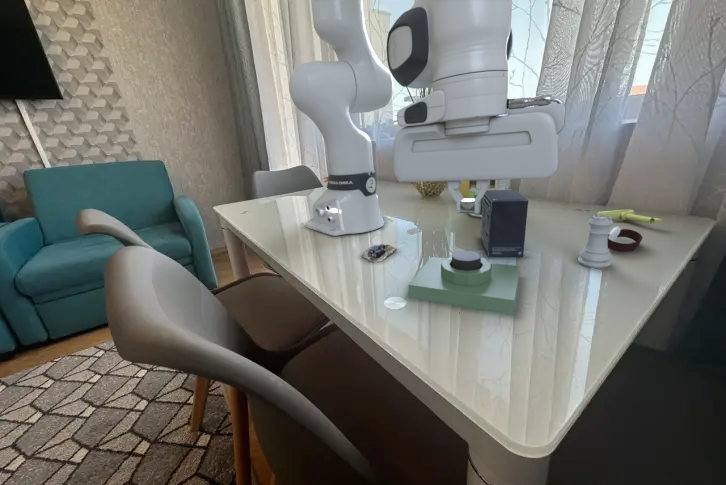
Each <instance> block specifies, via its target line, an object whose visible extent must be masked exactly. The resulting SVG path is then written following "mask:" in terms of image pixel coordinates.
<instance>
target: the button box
mask: <svg viewBox="0 0 726 485" xmlns="http://www.w3.org/2000/svg"><path fill="white" fill-rule="evenodd" d="M520 276H521V266H520V265H511V264H503V263H502V264H501V263H492V262H490V261H489V260H488V259H486V258H484V257H481V263H480V268H479V269H477V270H470V271H464V270H458V269H455V268H452V256H450V257H447V258H445V257H444V258H443V257H433V256H430V257H429V258H428V260H427V261H426V262H425V264H424V265H423V266H422V267H421V268H420V270H419V271H418V272H417V273H416V274H415V276H413V279H412V280H411V281H409V283H408V298H409V299H411V300H412V299H413V300H419V301H425V302H430V303H436V304H443V305H449V306H455V307H461V308H467V309H473V310H479V311H485V312H491V313H496V314H503V315H508V316H515V309H516V304H517V298H518V297H517V296H518V290H519V285H520Z"/></svg>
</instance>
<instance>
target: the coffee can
mask: <svg viewBox="0 0 726 485" xmlns="http://www.w3.org/2000/svg"><path fill="white" fill-rule="evenodd" d="M511 180H512V179H506V180H490V186H489V188H488V189H487V190H511ZM480 190H481V188H480V189H477V188H476V180H468V199H475V198H476V196H477V195H478V193H479V191H480ZM482 204H483V197H482V199H481V209H480V213H479V214H469V216H472V217H475V218H481V219H482V206H483V205H482Z"/></svg>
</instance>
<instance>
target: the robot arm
mask: <svg viewBox="0 0 726 485" xmlns="http://www.w3.org/2000/svg"><path fill="white" fill-rule="evenodd" d="M310 4H311V11H312V12H311V13H312V23H313V28H314V31H315V32H316V35H317V36H318V37H319V38H320V40H322V41H323V42H324V43H326V44H328V46H330V47H331V49H332V51H334V54H335V55H336V57H337V60H313V61H309V62H304V63H300V64H297V65H296V66H295V68H293V70H292V72H291V75H290V79H289V83H288V90H289V95H290V98H291V100H292V103H293V104H294V106H295V107H296V108H297V109H298V110H299V112H301V113H303V114H304V115H305V116H307V117H308V118H309V119H310V120H311V121H312V122H313V124H315V126H316V127H317V129H318V130H319V133H320V134H321V136H322V138H323V141H324V144H325V148H326V154H327V159H328V166H329V175H328V176H326V177H323V178H322V179H323V183H327V184H326V188H327V189H326V190H325V191H324V192H322V194H321V195H320V196H319V197H318V199H317V200H315V202H314V203H313V205H312V209H311V211H312V212H311V213H312V219H309V220H308V221H306V222H305V223H304V226H305V228H307V229H311V230H314V231H316V232H320V233H323V234H326V235H329V236H332V237H336V236H337V237H338V236H343V235H352V234H362V233H367V232H372V231H375V230H377V229H380V228H381V227H383V226H384V225H385V220H384V219H383V215H382V212H381V208H380V203H379V200H378V194H377V185H378V181H377V172H376V170H375V167H374V155H373V154H374V153H373V152H374V151H373V142H372V139H371V137H370V136H369V135H368V134H367V133H366V132H365V131H363V130H361V129H359V128H358V127H357V126H356V125H355V124H354V122H353V120H352V117H351V114H359V113H370V112H374V111H377V110H380V109H383V108H385V107H387V105H389V103H390V101H391V100H392V96H393V94H394V80H395V81H396V82H397V84H398V85H400V86H401V87H403V88H409V89H432V92H430V93H428V94H427V95H426V96H423V97H421V98H419V99H418V100H416V101H413V102H412V103H410V104H408V105H406V106H403V107H401V108H400V109H398V111H397V112H396V122H397V125H398V126H399V127H402V128H401V129H399V130H398V131H397V133H396V135H395V138H394V141H393V156H392V160H393V161H392V162H393V175H394V177H395V178H396V179H397V180H398V181H399V182H400V183H415V182H417V183H418V182H419V183H420V182H447V190H448V191H449V194H450V195H451V197H452V198H453V200H454V201H455V203H456V206H455V207H456V214H468V215H470V214H479V213H480V209H481V199H482V197H483V196H484V194H485V193H486V191H487V189H488V188H489V186H490V180H506V179H511V180H540V179H543V180H545V179H550V178H551V177H553V176H554V174H555V173H557V171H558V165H559V164H558V163H559V147H558V146H559V145H558V144H559V143H558V135H559V134H560V133H561V132H562V131H563V129H564V127H565V124H566V115H567V106H566V104H565V103H564V102H563V100H561V99H560V98H558V97H553V96H552V94H541V95H538V96H532V97H531V96H530V97H517V98H509V86H510V82H509V81H510V66H509V61H510V58H511V55H512V51H513V46H514V45H513V44H514V37H513V35H514V34H513V28H512V17H513V16H512V15H513V14H512V10H513V0H416V1H415V2H414V4H413V5H412V6H411V8H409V9H408V10H406V11H404V12H403V13H402V14H401V15H400V16H398V18H397V19H396V20H395V21H394V23H393V25H392V26H391V27H390V29H389V31H388V33H387V39H386V60H387V67H386V66H385V65H384V64H383V63H382V62H381V61H380V59H379V58H378V56H377V54H376V52H375V50H374V48H373V46H372V44H371V41H370V38H369V35H368V32H367V31H368V30H367V27H366V19H365V9H364V0H310ZM393 78H394V80H393ZM552 102H553V104H552ZM469 180H476V188H477V189H480V188H481V190H480V191H479V193H478V195H477V196H476V198H475V199H469V198H464V196H463V194H462V192H461V191H460V189H459V188H460V187H462V182H463V181H469Z"/></svg>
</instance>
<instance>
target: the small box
mask: <svg viewBox="0 0 726 485" xmlns="http://www.w3.org/2000/svg"><path fill="white" fill-rule="evenodd" d="M482 205H483V206H482V218H481V225H480V226H481V228H480V241H481V243H482V247H483V249H484V251H485V253H486V256H487V257H505V258H506V257H510V258H511V257H513V258H515V257H517V258H518V257H524V251H525V240H526V239H525V238H526V230H527V220H528V209H529V199H528V198H526V197H525V196H524V195H522V194H521V193H519V192H518V191H517V190H516V189H510V190H487V191H486V193H485V194H484V196H483V204H482Z"/></svg>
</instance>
